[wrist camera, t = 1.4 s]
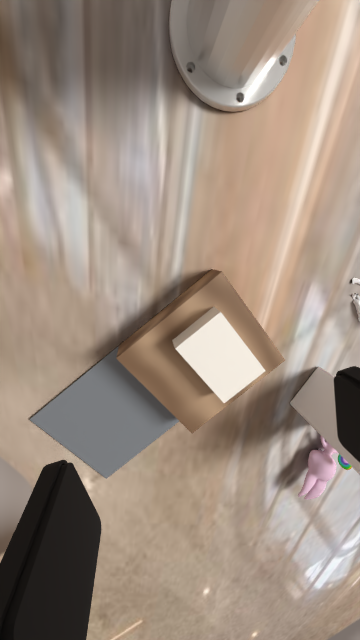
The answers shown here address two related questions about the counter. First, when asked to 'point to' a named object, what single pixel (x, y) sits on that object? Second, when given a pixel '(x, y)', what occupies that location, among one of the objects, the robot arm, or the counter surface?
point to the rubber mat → (105, 416)
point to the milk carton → (322, 410)
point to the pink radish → (321, 470)
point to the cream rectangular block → (218, 355)
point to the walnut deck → (172, 369)
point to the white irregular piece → (359, 301)
